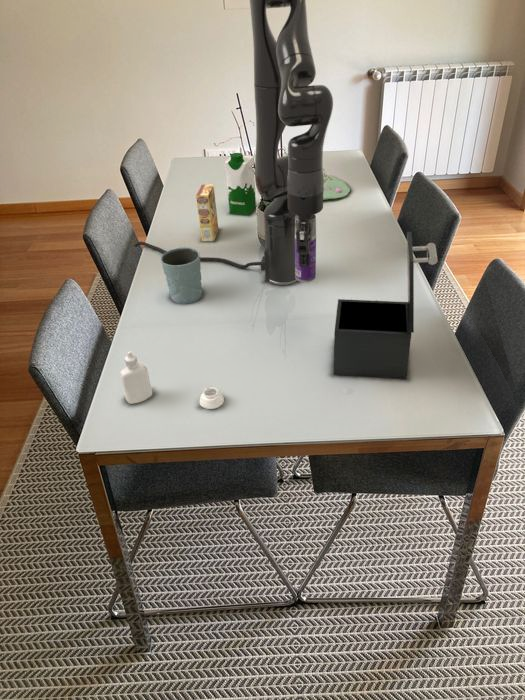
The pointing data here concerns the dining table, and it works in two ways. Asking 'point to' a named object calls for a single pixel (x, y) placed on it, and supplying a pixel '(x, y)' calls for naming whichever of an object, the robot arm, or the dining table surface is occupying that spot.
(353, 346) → the bin
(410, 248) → the bin lid
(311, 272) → the container
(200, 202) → the candy box
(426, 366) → the dining table surface
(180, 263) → the grey-green cup
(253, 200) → the milk carton
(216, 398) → the lidless jar
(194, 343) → the dining table surface
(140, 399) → the eye dropper bottle
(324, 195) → the plant
